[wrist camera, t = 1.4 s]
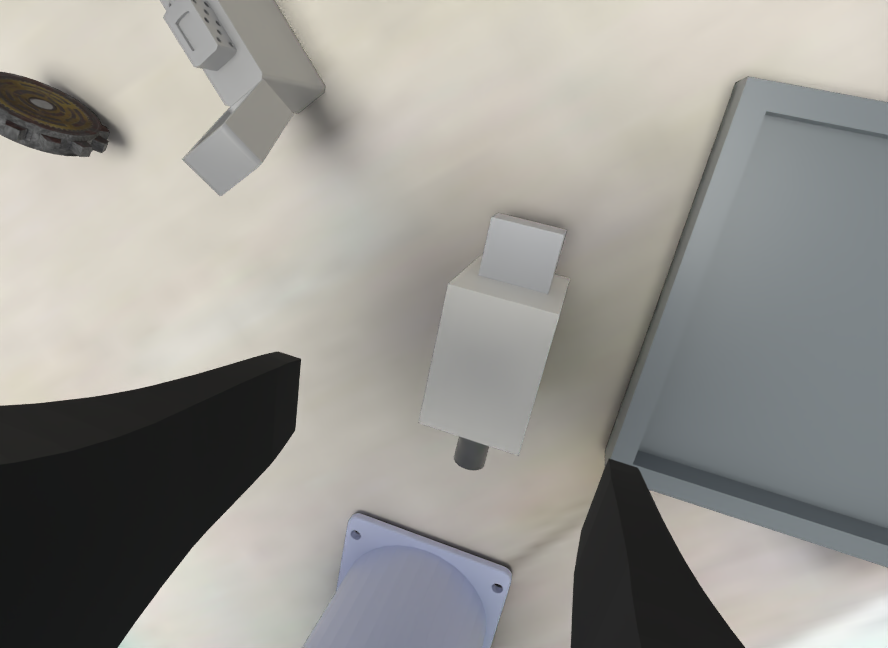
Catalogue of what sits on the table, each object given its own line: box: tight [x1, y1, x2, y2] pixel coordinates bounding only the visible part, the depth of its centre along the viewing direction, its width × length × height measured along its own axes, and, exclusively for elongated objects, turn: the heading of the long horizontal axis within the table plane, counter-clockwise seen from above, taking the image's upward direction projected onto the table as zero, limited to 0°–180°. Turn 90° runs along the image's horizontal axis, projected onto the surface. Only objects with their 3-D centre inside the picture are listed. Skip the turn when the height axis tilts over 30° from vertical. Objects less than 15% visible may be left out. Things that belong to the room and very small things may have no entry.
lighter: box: [160, 0, 325, 196], centre depth 18 cm, size 7×2×8 cm, turn 33°
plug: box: [418, 213, 570, 470], centre depth 20 cm, size 9×4×5 cm, turn 169°
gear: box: [0, 72, 110, 157], centre depth 23 cm, size 5×1×5 cm, turn 56°
